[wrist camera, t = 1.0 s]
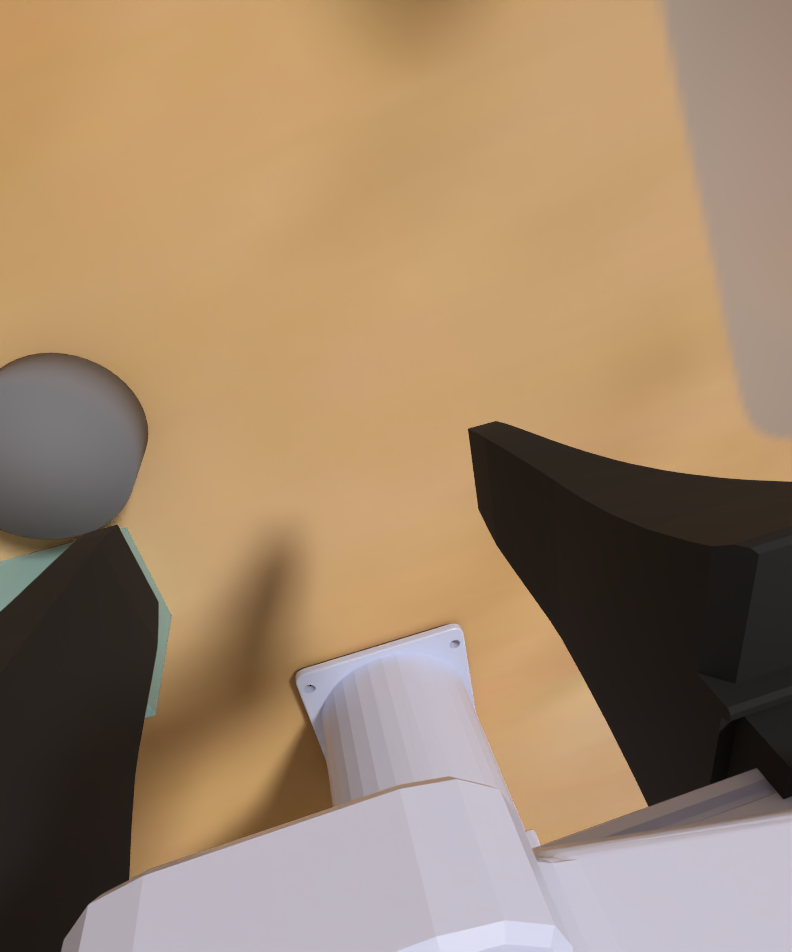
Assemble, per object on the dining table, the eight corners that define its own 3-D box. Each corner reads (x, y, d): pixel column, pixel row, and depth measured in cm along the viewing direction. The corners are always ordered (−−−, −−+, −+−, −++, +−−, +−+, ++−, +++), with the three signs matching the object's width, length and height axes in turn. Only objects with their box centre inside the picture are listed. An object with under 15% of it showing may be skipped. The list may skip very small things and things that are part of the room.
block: (171, 614, 24) (156, 715, 19) (59, 646, 23) (17, 757, 19) (127, 526, 21) (97, 618, 17) (1, 560, 21) (-62, 663, 17)
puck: (170, 470, 21) (160, 514, 18) (27, 507, 20) (-5, 557, 18) (111, 335, 18) (90, 364, 16) (-55, 373, 18) (-105, 410, 15)
